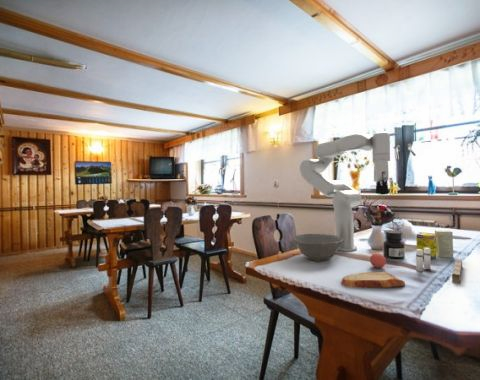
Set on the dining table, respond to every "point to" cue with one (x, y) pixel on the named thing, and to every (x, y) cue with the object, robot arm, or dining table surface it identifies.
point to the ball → (377, 260)
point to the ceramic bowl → (318, 245)
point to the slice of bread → (372, 280)
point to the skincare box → (444, 243)
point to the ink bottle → (394, 245)
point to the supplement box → (427, 243)
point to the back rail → (457, 271)
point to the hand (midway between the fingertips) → (381, 193)
